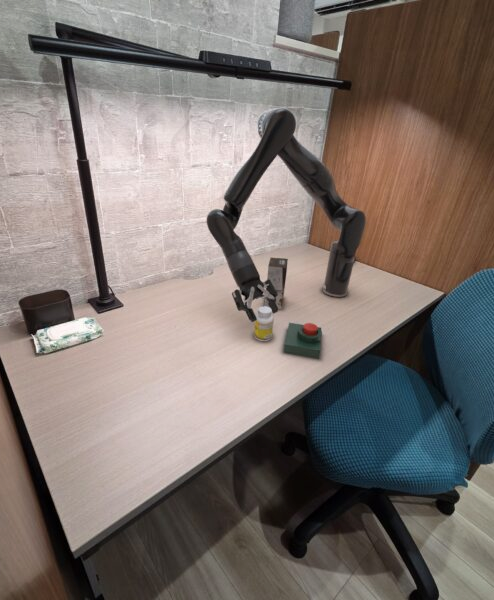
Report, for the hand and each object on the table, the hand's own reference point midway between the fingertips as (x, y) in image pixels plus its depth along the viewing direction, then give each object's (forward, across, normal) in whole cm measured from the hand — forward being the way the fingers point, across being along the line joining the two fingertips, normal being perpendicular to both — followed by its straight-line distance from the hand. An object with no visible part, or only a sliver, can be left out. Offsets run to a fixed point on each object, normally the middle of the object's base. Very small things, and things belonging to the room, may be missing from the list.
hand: (265, 316), depth 94 cm
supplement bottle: (+5, 0, +6) cm, 8 cm away
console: (+12, +7, -2) cm, 14 cm away
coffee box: (-5, +18, +15) cm, 24 cm away
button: (+9, +8, -6) cm, 14 cm away
